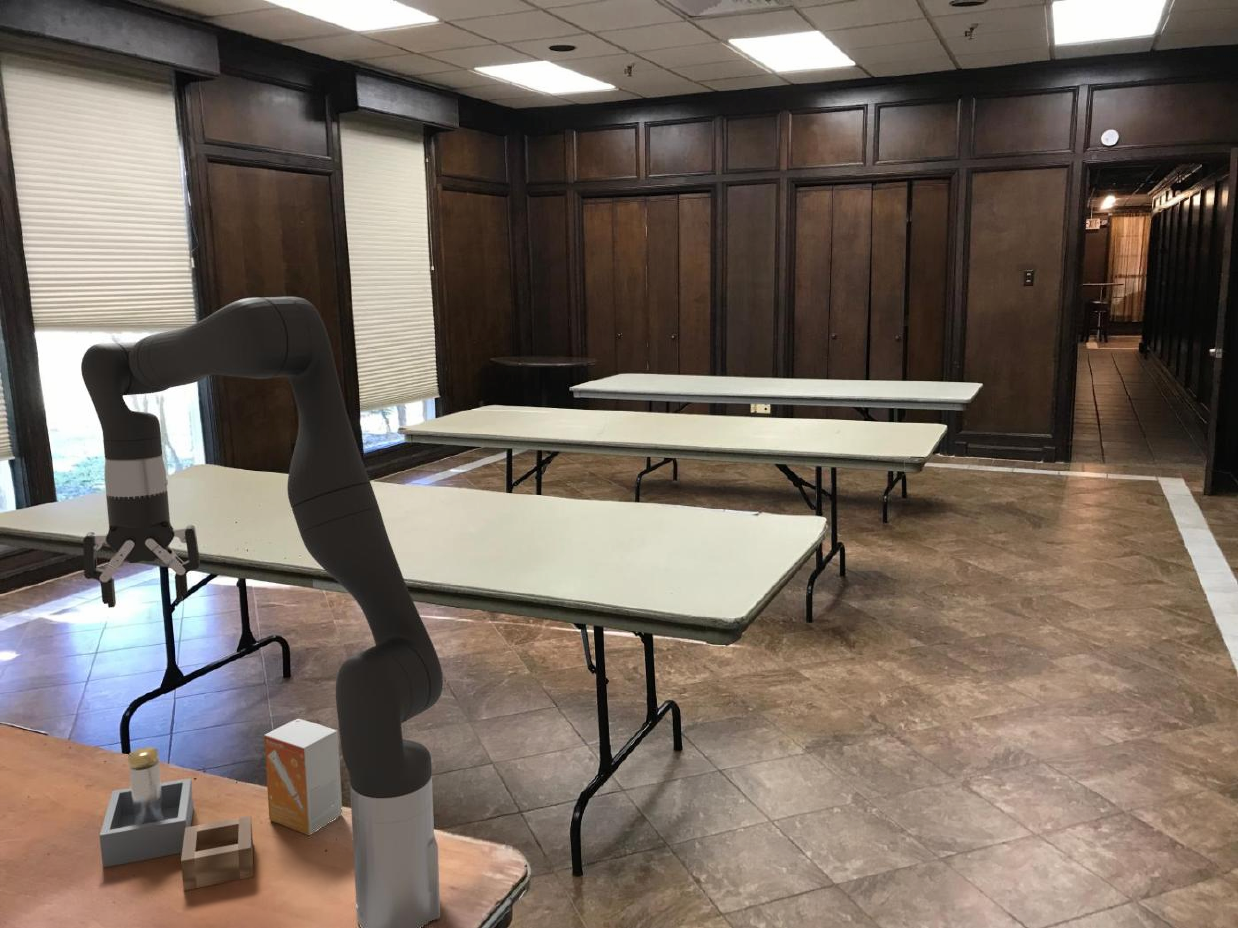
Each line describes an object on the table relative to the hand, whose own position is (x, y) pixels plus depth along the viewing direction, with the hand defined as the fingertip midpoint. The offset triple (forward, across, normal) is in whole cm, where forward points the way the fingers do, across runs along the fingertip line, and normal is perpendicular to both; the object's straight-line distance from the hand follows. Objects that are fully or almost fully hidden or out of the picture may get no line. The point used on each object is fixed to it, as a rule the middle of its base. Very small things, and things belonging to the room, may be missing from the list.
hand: (146, 602), depth 132 cm
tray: (+30, -1, -9) cm, 32 cm away
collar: (+30, +8, -20) cm, 37 cm away
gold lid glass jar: (+29, -1, -9) cm, 31 cm away
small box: (+30, +19, -12) cm, 38 cm away
